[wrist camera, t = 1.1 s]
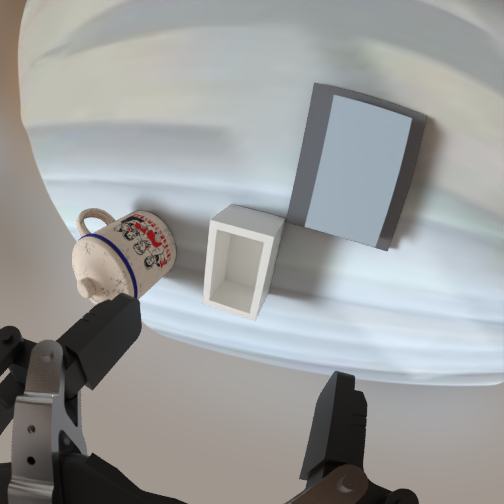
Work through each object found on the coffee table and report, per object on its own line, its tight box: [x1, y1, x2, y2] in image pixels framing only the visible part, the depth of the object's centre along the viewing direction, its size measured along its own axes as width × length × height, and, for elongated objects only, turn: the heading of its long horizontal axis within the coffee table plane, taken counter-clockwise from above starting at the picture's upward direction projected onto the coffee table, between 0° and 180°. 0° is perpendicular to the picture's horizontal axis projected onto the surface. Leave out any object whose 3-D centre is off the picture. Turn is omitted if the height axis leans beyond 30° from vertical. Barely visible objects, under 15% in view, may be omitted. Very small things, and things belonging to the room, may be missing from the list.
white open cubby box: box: [202, 204, 286, 321], centre depth 28 cm, size 9×6×5 cm, turn 169°
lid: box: [305, 95, 412, 247], centre depth 21 cm, size 11×6×3 cm, turn 169°
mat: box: [286, 83, 427, 251], centre depth 23 cm, size 13×10×1 cm
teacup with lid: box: [72, 208, 176, 305], centre depth 29 cm, size 12×9×12 cm
